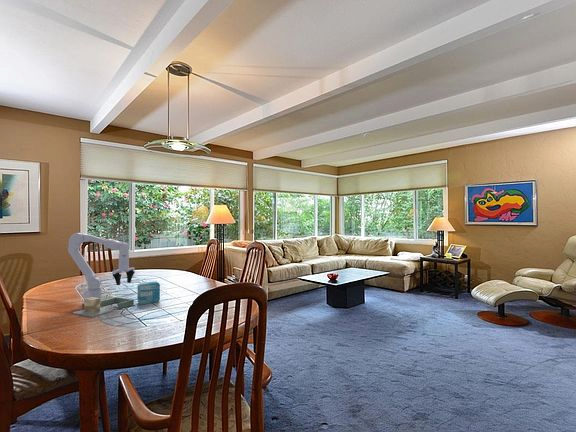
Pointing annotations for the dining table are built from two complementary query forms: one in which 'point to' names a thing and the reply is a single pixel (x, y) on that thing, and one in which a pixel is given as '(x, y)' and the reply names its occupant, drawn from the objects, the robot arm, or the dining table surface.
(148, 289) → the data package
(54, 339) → the dining table surface
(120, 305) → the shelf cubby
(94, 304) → the block
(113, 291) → the dining table surface
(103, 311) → the rubber mat
